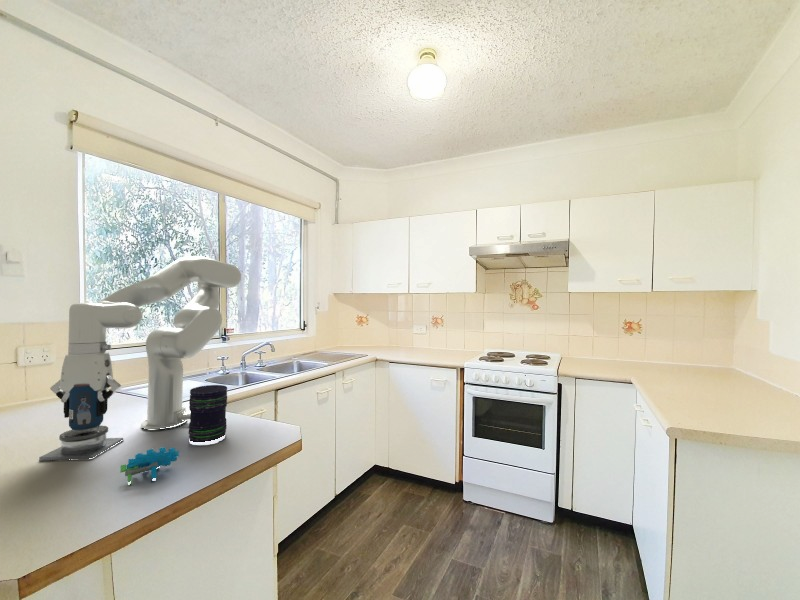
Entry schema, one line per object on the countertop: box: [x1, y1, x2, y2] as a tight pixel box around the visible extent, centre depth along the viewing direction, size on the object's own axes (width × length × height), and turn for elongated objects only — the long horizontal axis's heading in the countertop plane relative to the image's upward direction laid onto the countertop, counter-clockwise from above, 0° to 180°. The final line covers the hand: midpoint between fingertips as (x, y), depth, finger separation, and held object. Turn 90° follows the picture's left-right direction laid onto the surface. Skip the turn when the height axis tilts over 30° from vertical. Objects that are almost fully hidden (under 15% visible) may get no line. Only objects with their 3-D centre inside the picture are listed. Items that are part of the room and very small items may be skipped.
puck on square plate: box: [38, 425, 124, 462], centre depth 95 cm, size 12×12×5 cm
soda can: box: [68, 384, 104, 431], centre depth 95 cm, size 7×7×12 cm
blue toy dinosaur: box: [119, 446, 180, 482], centre depth 81 cm, size 11×6×10 cm
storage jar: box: [187, 384, 228, 442], centre depth 104 cm, size 10×10×15 cm
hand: (85, 414), depth 95 cm, fingers closed on soda can, 6 cm apart
